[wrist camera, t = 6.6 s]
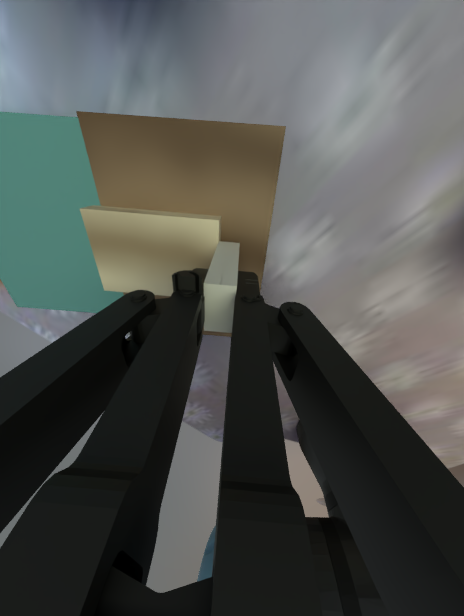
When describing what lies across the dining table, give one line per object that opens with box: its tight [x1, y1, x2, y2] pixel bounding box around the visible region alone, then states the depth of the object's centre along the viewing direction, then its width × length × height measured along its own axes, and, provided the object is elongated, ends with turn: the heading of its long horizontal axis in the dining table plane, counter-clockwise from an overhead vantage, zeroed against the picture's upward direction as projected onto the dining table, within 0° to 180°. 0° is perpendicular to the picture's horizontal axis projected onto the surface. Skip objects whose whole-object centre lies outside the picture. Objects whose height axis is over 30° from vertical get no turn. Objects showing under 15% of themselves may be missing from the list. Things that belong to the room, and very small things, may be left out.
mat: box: [0, 112, 124, 313], centre depth 18 cm, size 16×13×1 cm
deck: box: [76, 111, 286, 337], centre depth 17 cm, size 16×12×2 cm
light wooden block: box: [80, 205, 221, 296], centre depth 16 cm, size 6×9×2 cm, turn 86°
